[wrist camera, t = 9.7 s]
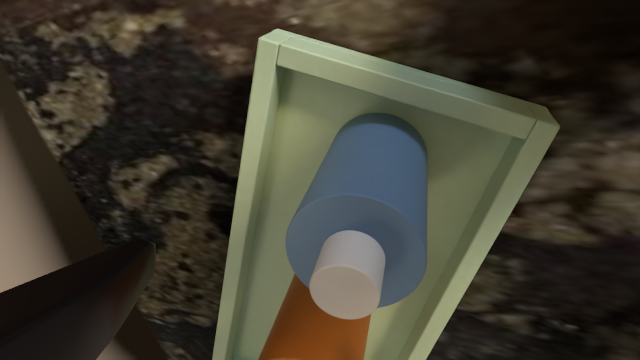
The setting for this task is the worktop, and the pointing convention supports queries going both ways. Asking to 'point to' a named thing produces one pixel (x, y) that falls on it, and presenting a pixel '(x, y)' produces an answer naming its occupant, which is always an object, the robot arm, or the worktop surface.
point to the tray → (309, 151)
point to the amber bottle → (313, 331)
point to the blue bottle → (364, 218)
